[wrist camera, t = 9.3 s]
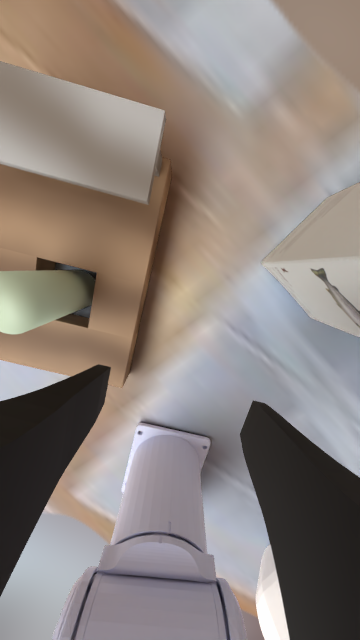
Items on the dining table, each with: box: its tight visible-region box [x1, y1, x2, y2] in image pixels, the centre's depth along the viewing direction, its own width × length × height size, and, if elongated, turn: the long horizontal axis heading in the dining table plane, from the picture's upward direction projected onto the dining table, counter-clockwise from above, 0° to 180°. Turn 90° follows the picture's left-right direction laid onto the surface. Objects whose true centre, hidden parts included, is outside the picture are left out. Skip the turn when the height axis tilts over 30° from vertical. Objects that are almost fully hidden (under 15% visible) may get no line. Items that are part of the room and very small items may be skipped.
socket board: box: [0, 61, 172, 388], centre depth 15 cm, size 18×12×7 cm, turn 166°
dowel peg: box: [0, 270, 95, 334], centre depth 15 cm, size 3×3×8 cm
